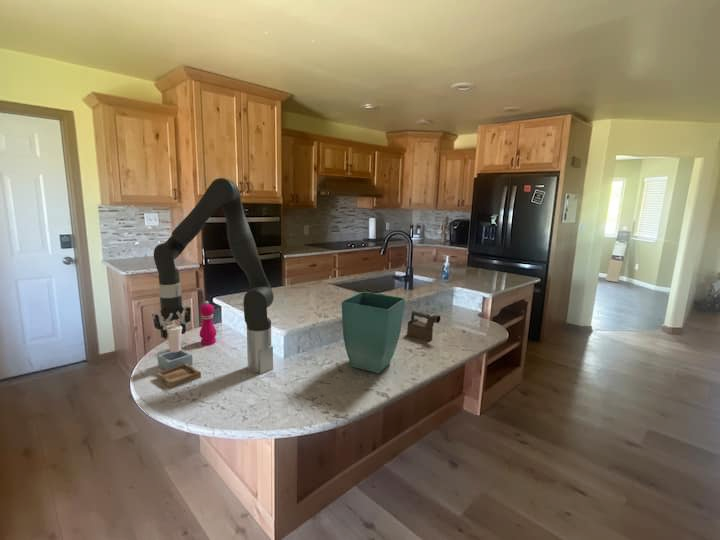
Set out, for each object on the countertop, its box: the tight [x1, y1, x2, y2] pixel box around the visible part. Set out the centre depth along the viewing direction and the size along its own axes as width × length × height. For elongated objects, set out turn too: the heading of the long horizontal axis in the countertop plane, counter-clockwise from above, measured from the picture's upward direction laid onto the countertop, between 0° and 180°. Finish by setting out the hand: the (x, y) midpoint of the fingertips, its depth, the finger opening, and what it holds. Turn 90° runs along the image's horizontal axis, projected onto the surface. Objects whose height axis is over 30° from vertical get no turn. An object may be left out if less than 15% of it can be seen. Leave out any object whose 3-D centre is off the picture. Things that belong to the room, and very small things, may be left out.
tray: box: [156, 364, 202, 389], centre depth 139 cm, size 11×11×2 cm
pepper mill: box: [199, 300, 218, 346], centre depth 170 cm, size 7×7×20 cm
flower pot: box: [341, 291, 406, 374], centre depth 154 cm, size 20×20×28 cm
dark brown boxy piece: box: [406, 310, 441, 341], centre depth 188 cm, size 8×16×13 cm, turn 46°
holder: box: [157, 348, 194, 371], centre depth 149 cm, size 9×9×4 cm
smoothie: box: [166, 320, 182, 352], centre depth 146 cm, size 6×6×14 cm
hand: (174, 335), depth 146 cm, fingers closed on smoothie, 6 cm apart
